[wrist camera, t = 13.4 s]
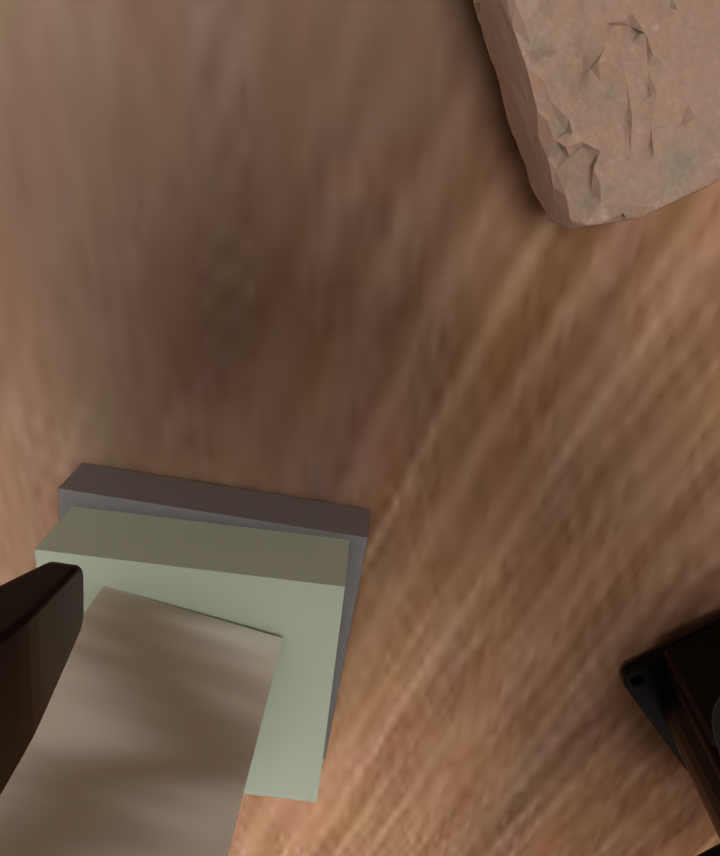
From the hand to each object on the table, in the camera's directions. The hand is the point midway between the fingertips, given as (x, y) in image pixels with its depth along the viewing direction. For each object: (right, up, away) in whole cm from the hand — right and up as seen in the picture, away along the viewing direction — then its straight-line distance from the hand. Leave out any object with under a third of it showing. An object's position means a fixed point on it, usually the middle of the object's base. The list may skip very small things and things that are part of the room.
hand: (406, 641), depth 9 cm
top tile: (-6, -4, +14) cm, 16 cm away
